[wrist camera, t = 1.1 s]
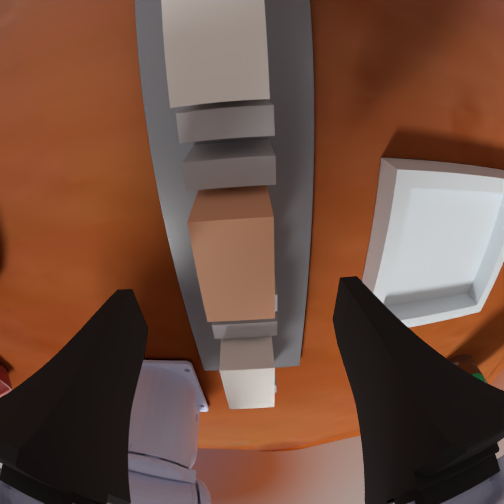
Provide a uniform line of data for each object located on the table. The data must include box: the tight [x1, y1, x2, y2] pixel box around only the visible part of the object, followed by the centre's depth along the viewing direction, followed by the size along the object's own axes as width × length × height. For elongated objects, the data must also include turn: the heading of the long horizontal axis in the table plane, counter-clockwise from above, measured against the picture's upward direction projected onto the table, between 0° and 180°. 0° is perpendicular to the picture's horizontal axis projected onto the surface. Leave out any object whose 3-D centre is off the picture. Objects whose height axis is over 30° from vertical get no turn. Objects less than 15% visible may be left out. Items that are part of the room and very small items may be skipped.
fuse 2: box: [219, 336, 275, 409], centre depth 19 cm, size 5×3×5 cm, turn 3°
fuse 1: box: [161, 0, 270, 108], centre depth 9 cm, size 5×3×5 cm, turn 3°
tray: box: [362, 158, 504, 327], centre depth 17 cm, size 12×12×2 cm
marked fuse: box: [187, 185, 275, 322], centre depth 14 cm, size 5×3×5 cm, turn 3°
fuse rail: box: [135, 0, 314, 393], centre depth 15 cm, size 28×8×4 cm, turn 3°
